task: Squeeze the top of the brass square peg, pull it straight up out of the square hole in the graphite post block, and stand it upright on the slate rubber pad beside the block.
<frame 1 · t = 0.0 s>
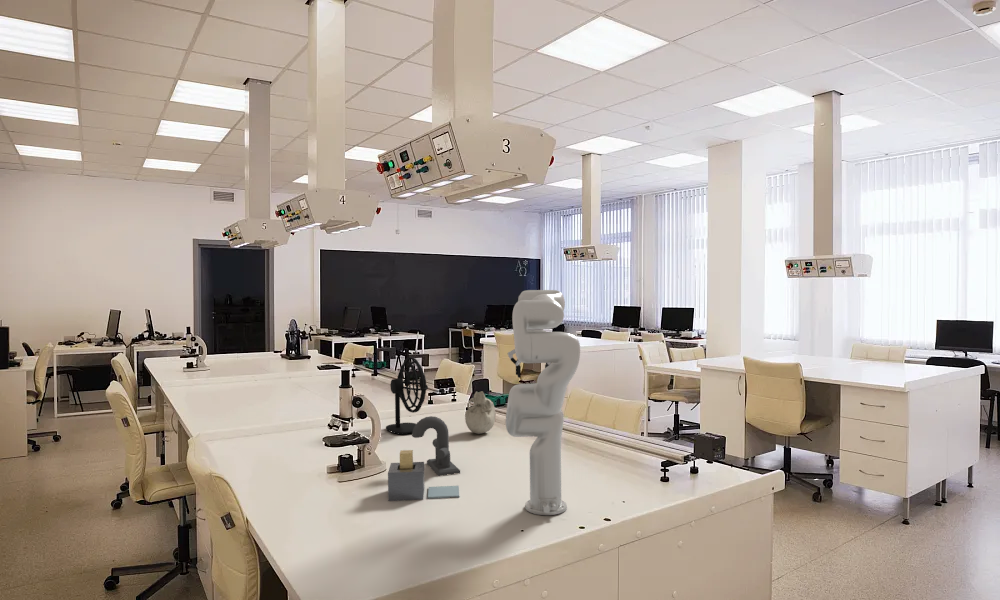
hand: (533, 376, 205), 37 cm above the table, tool pointing down, fingers open, 9 cm apart
brass peg: (406, 488, 196), point 2 cm above the table, touching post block
faucet: (433, 470, 224), on the table
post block: (406, 494, 196), on the table
rubber pad: (443, 492, 197), on the table
skull: (480, 433, 280), on the table
desk fan: (407, 430, 288), on the table
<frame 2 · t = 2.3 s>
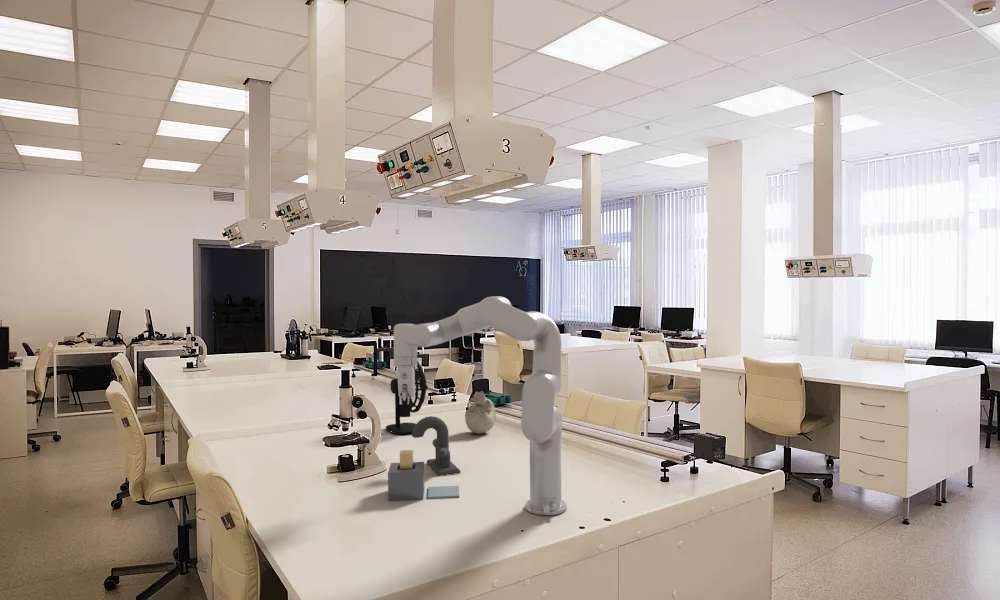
hand: (406, 413, 196), 27 cm above the table, tool pointing down, fingers open, 9 cm apart
nothing on the table moved.
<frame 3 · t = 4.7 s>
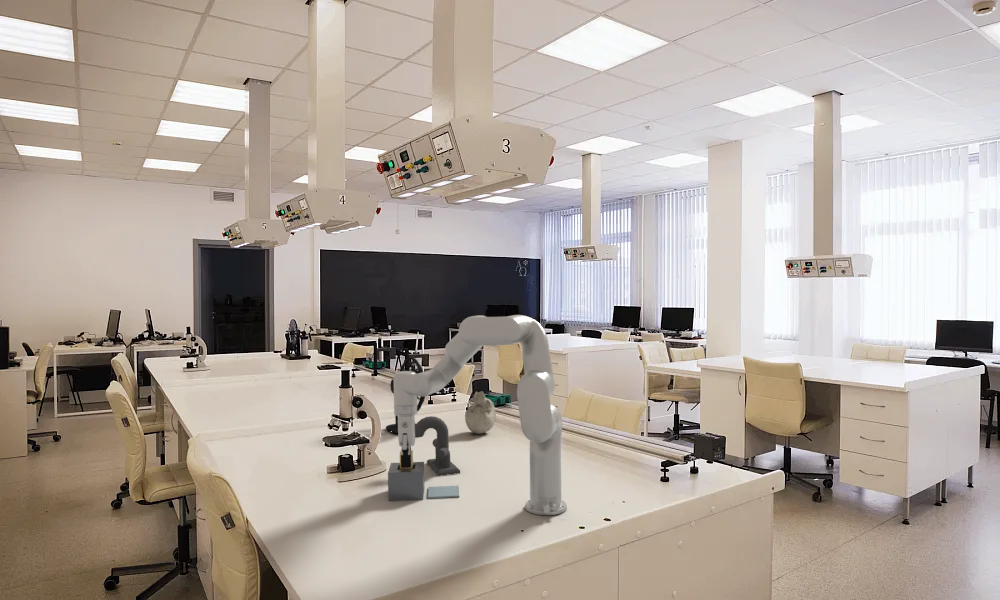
hand: (406, 464, 196), 10 cm above the table, tool pointing down, fingers closed on brass peg, 4 cm apart
brass peg: (406, 488, 196), point 2 cm above the table, touching gripper, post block
everything else where it was.
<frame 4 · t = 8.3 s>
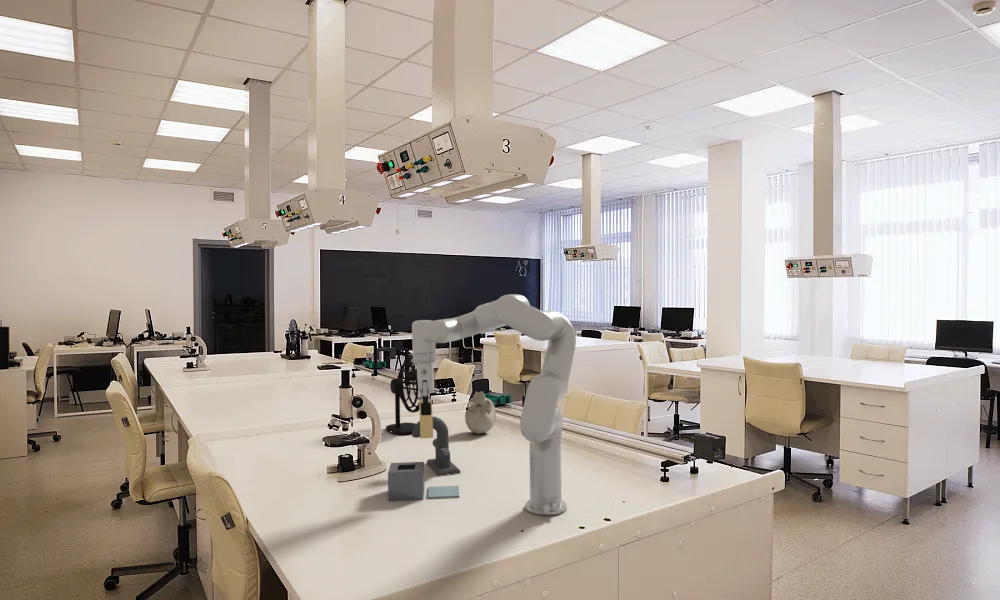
hand: (426, 413, 196), 27 cm above the table, tool pointing down, fingers closed on brass peg, 4 cm apart
brass peg: (426, 436, 196), point 19 cm above the table, touching gripper
everything else where it was.
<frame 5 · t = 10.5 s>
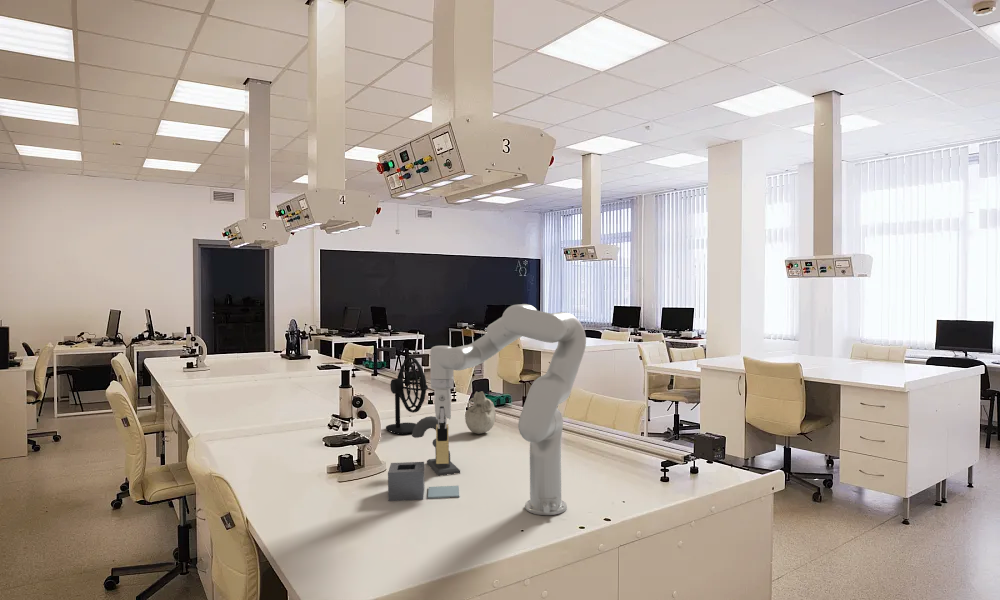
hand: (442, 438, 197), 18 cm above the table, tool pointing down, fingers closed on brass peg, 4 cm apart
brass peg: (442, 461, 197), point 10 cm above the table, touching gripper
everything else where it was.
when the fingers open (10 cm above the table, at t = 12.3 s): brass peg drops 2 cm, resting on rubber pad.
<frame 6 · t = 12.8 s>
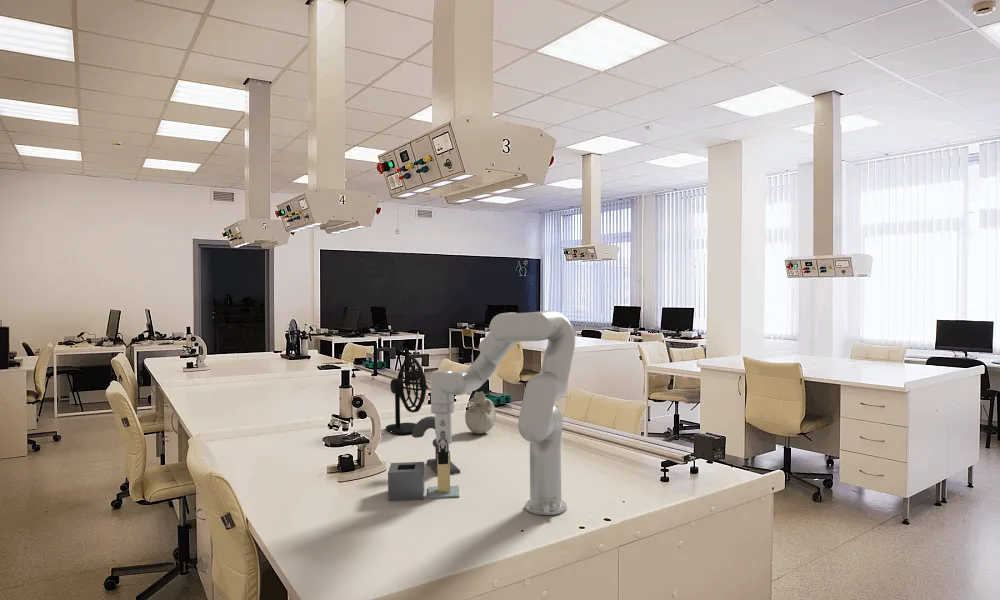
hand: (443, 459, 197), 11 cm above the table, tool pointing down, fingers open, 9 cm apart
brass peg: (443, 491, 197), point 1 cm above the table, touching rubber pad
everything else where it was.
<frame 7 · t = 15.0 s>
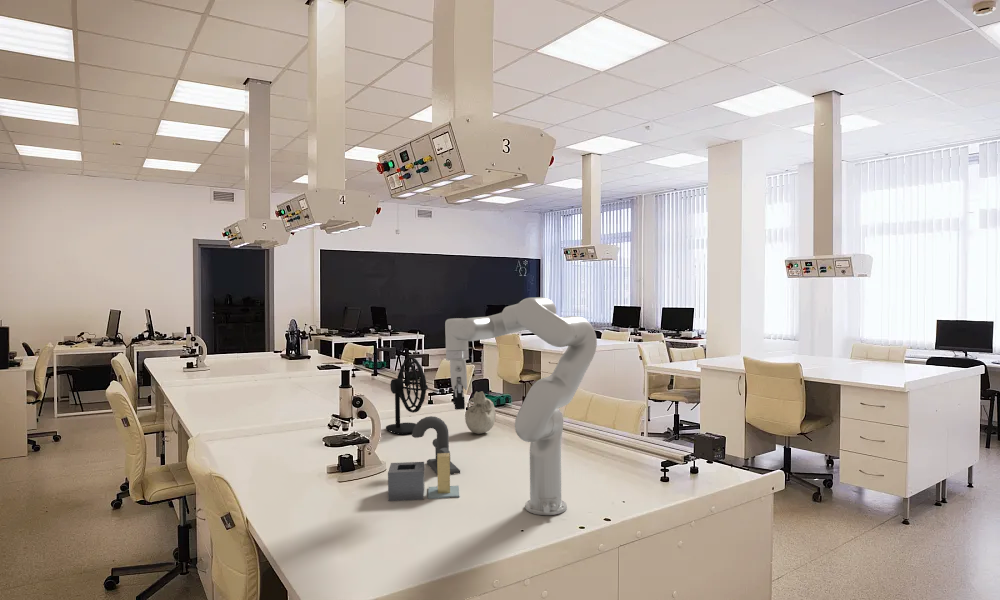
hand: (458, 406, 200), 28 cm above the table, tool pointing down, fingers open, 9 cm apart
nothing on the table moved.
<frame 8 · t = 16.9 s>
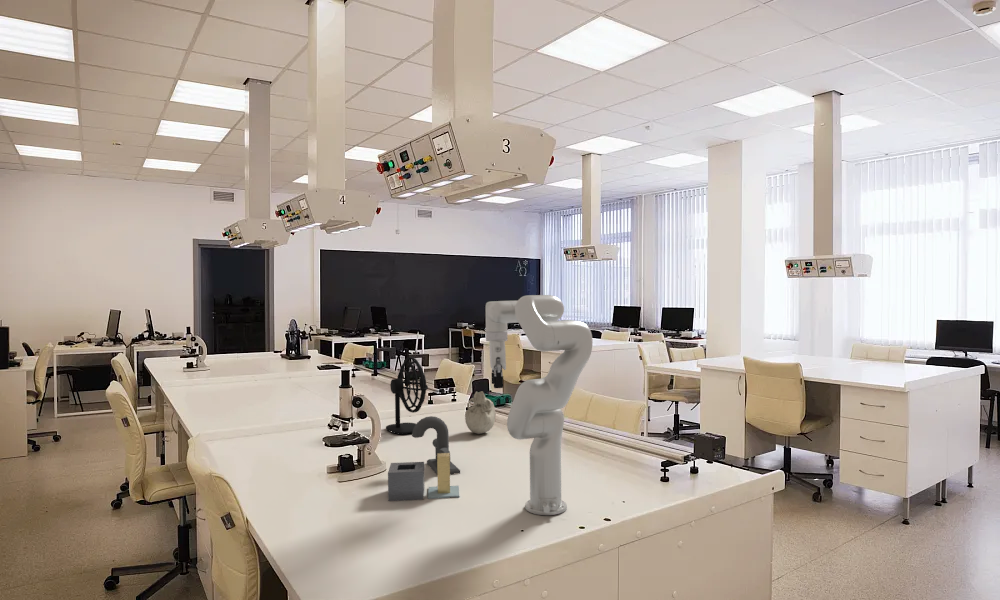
hand: (497, 385, 208), 33 cm above the table, tool pointing down, fingers open, 9 cm apart
nothing on the table moved.
at the end: brass peg 0.1 cm off-centre on the rubber pad, point 0.6 cm above the rubber pad's base; brass peg tilted 0°; the gripper is holding nothing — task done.
